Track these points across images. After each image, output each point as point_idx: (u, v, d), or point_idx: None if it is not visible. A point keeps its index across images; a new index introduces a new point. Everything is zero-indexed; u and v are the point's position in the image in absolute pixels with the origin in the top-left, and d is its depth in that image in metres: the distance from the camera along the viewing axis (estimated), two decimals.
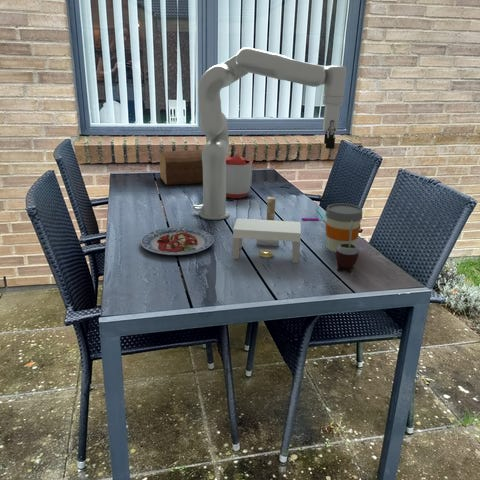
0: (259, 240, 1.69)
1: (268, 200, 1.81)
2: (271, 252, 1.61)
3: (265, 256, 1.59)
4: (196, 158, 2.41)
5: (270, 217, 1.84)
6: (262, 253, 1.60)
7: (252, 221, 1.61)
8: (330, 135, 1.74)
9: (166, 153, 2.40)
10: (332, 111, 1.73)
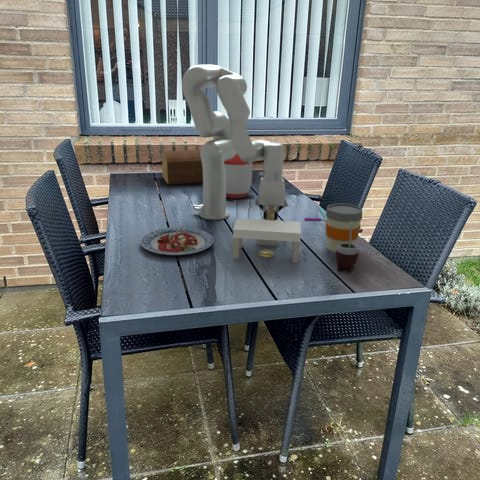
0: (259, 240, 1.69)
1: None
2: (271, 252, 1.61)
3: (265, 256, 1.59)
4: (198, 157, 2.42)
5: (270, 217, 1.84)
6: (262, 253, 1.60)
7: (252, 221, 1.61)
8: None
9: (168, 153, 2.41)
10: (284, 185, 1.80)
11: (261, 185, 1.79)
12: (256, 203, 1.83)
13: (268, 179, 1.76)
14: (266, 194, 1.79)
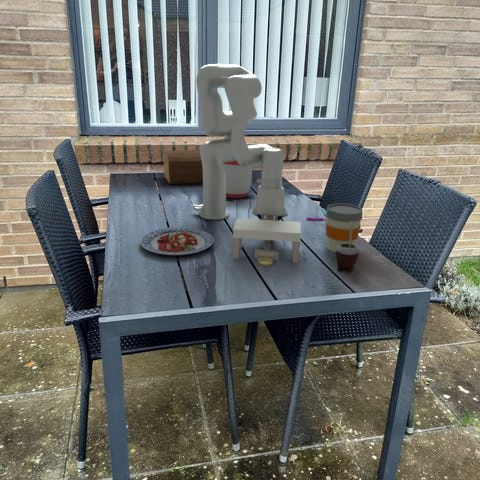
0: (257, 254, 1.57)
1: None
2: (270, 259, 1.55)
3: (264, 264, 1.53)
4: (199, 157, 2.42)
5: None
6: (261, 260, 1.54)
7: (252, 221, 1.61)
8: None
9: (170, 152, 2.42)
10: None
11: (259, 193, 1.66)
12: (254, 213, 1.71)
13: (266, 187, 1.64)
14: (264, 203, 1.67)
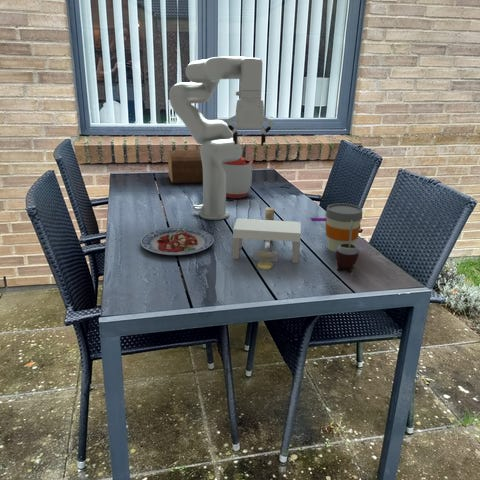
0: (256, 255, 1.56)
1: (266, 211, 1.69)
2: (270, 264, 1.52)
3: (263, 268, 1.50)
4: None
5: None
6: (260, 264, 1.51)
7: (252, 221, 1.61)
8: (268, 130, 1.68)
9: (173, 152, 2.44)
10: (263, 106, 1.65)
11: (238, 105, 1.64)
12: (227, 121, 1.68)
13: (245, 98, 1.62)
14: (243, 116, 1.65)
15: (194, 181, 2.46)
